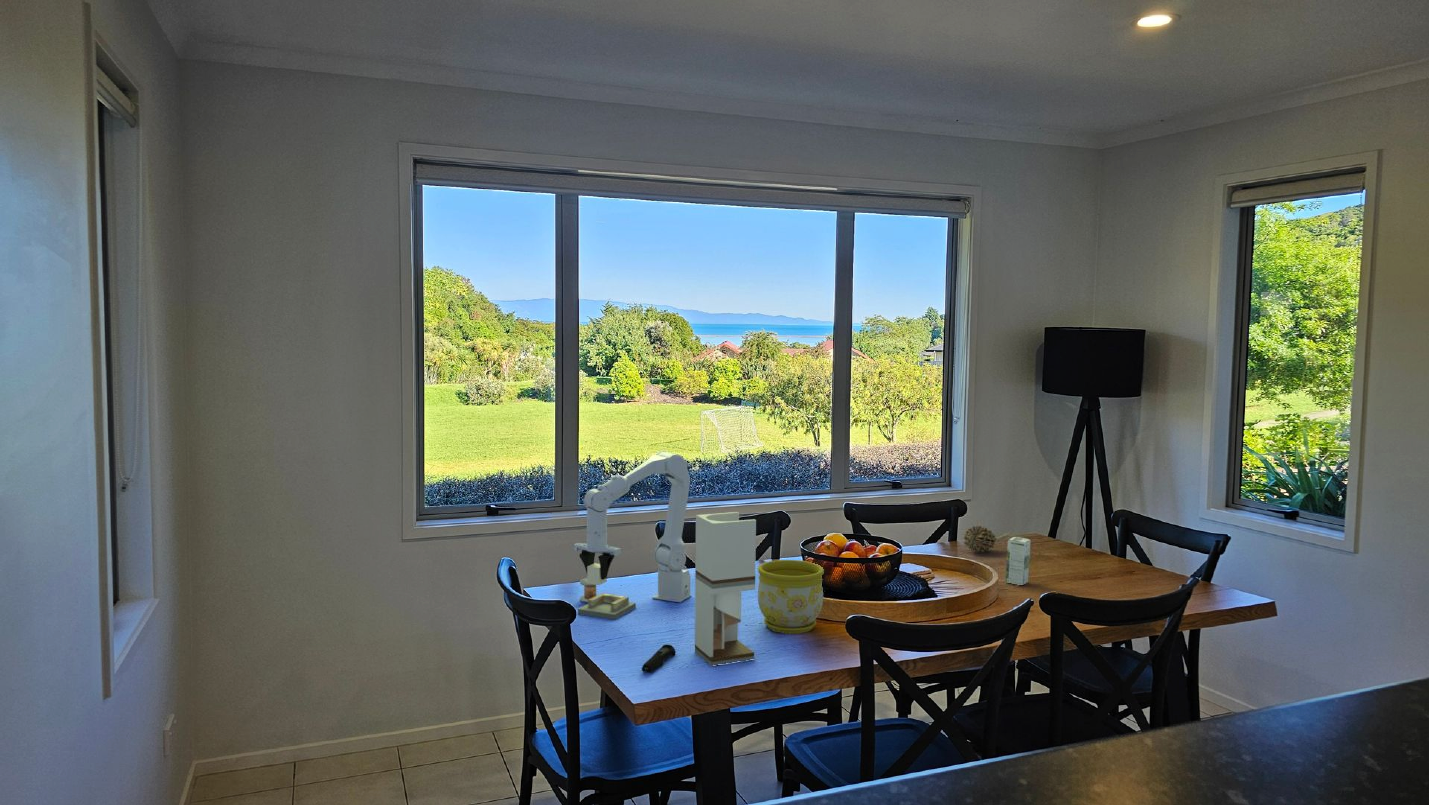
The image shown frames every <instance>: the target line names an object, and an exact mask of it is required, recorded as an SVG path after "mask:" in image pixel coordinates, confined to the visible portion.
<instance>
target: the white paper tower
mask: <svg viewBox="0 0 1429 805" xmlns="http://www.w3.org/2000/svg"><path fill="white" fill-rule="evenodd" d="M756 540H757V519H754V518H753V519H744V520H743V519H741V520H740V512H739V511H730V512H719V513H706V514H704V513H703V514H696V515H695V574H694V576H695V579H694V580H695V581H694V582H695V585H694V588H695V590H694V591H695V592H694V596H695V598H694V599H695V602H694V603H695V604H694V607H695V608H694V653H695V654H696V655H697V656H698V655H699V656H700V657H699V656H698V657H699V658H701V659H702V658H703V659H704V660H705V661H707V662H708V663H707V664H708V665H709V664H710V665H711V666H713V665H718V664H726V663H732V662H737V661H746V660H750V659H754V660H755V651H753V650H752V649H751V648H749V647H748V646H746V645H745V644H744V643H742V642H741V641H740V640H739V639H738V636H739V635H738V634H739V632H738V631H739V627H738V625H739V623H741V622H742V592H745V591H746V592H747V591H753V590H755V591H756V558H757V557H756V556H757V555H756V553H757V552H756V551H757V548H756V547H757V546H756V545H757V544H756V543H757V541H756ZM703 659H702V660H703ZM704 660H703V661H704ZM705 661H704V662H705ZM710 665H709V666H710ZM711 666H710V667H711Z"/></svg>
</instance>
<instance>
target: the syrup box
mask: <svg viewBox="0 0 1429 805" xmlns="http://www.w3.org/2000/svg"><path fill="white" fill-rule="evenodd" d="M1030 558H1031V539H1029V538H1024V537H1019V536H1013V537H1010V538H1009V539H1008V540H1007V549H1006V565H1005V566H1006V568H1005V571H1006V572H1005V584H1007V583H1012V584H1017V585H1016V586H1019V585H1024V584H1025V585H1027V584H1028V583H1029V575H1030V560H1031V559H1030ZM1027 582H1028V583H1027ZM1026 583H1027V584H1026ZM1012 584H1011V585H1012ZM1025 585H1024V586H1025Z"/></svg>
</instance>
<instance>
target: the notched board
mask: <svg viewBox="0 0 1429 805" xmlns="http://www.w3.org/2000/svg"><path fill="white" fill-rule="evenodd" d="M596 595H597V596H595V597H593V598H591V599H589V600H588V603H586V604H585V605H583V606H581V607H579V608H577V615H582V616H586V617H587V616H588V617H594V618H600V619H608V620H614V621H616V620H618V619H619V618H621V617H623V616H625V615H626V614H628V613H630V612H631V611H633V610H635V609H636V606H637V603H636V602H631V601H630V600H629V598H630V597H629V596H624V595H618V594H612V593H611V594H609V593H603V592H602V593H599V594H596Z"/></svg>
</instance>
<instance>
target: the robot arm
mask: <svg viewBox="0 0 1429 805" xmlns="http://www.w3.org/2000/svg"><path fill="white" fill-rule="evenodd" d="M688 464H689V463H688V462H687V460H686V459H685V458H684V457H683V456H682V455H680V454H676V453H675V454H674V453H671V452H668V451H665V450H661V451H658V452H656V454H653V455H651V456H650V457H649V458H648V459H647V460H645V461H644V462H642V463H641V464H640V465H638V466H636V467H635V468H633V469H632V470H631V471H630V472H628V473H626V474H625V475H619V474H617V475H612V476H610V479H609V480H607V481H606V482H604V483H602V484H599V485H597V488H591V489H589V490H588V491H587V492H586V494H585V495H584V497H583V498H582V503H583V505H584V506H585V508H586V543H581V542H577V543H574V544H573V551H574V552H581V553H579V558H580V560H581V562H582V563H583V565H584V568H585V572H586V573H587V566H589V565H592V564H594V563H595V557H596V554H601V555H598V561H599V562H598V563H599V564H600V568H601V579H606V578H608V575H609V574H608V573H609V570H610V566H611V563H612V562H613V560H614V558H615V557H618V556H621V548H620V547H615V546H611V545H609V544H608V515H607V511H608V509H609V508H610V506H611V504H612V503H614V502H615V501H616V500H618V499H620V498H621V497H622V496H624V495H626V494H628V493H629V491H630V488H631V486H633V485H635V484H637V483H638V482H640V481H642V480H643V479H645V478H648V476H650V475H653V474H660V475H664V476H665V477H666V479H667V480H668V482H669V483H671V487H670V494H669V497H668V498H669V500H668V506H667V513H666V519H665V524H664V531H663V535H662V536H661V537H660V538H659V539H658V544H657V546H656V547H655V550H654V551H653V557H654V560H655V561H656V562H657V594H655V595H653V596H652V599H653V600H661V601H668V602H676V603H681V602H683V601H685V600H687V599H688V598H690V597H691V596H692V594H691V574H690V573H691V572H690V571H688V570H686V569H684V568H683V567H684V566H685V565H686V562H687V556H686V553H685V552H686V551H685V550H686V545H685V542H684V541H683V538H682V537H683V530H684V524H685V518H686V512H687V511H686V510H687V505H688V498H689V492H690V485H691V477H690V473H689V470H688Z"/></svg>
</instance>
